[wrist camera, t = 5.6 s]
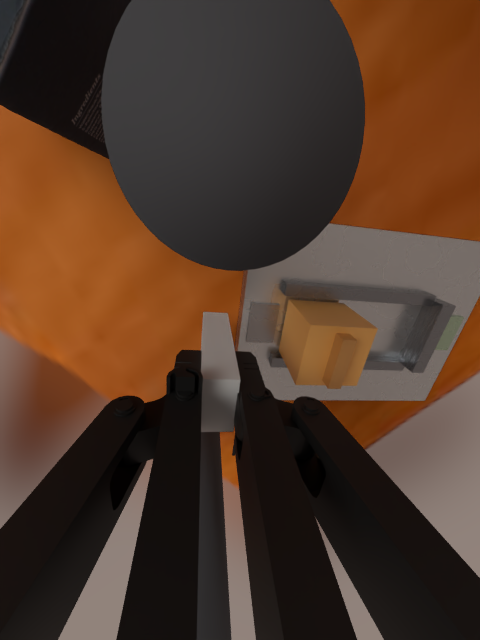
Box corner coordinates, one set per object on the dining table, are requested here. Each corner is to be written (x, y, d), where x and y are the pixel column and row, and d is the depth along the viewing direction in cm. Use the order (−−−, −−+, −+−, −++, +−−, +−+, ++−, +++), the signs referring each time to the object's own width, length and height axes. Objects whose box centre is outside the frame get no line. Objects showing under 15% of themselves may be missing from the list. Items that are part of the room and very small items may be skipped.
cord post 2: (187, 214, 16) (113, 260, 3) (188, 159, 15) (83, -102, 2) (234, 220, 16) (328, 279, 4) (240, 166, 15) (402, -10, 3)
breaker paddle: (278, 350, 19) (300, 394, 15) (288, 299, 17) (316, 331, 13) (328, 351, 19) (363, 394, 15) (343, 303, 18) (387, 335, 14)
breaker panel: (229, 387, 22) (233, 414, 19) (250, 213, 16) (260, 216, 14) (412, 389, 25) (439, 413, 22) (484, 241, 19) (532, 248, 16)
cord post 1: (182, 409, 22) (150, 676, 10) (182, 382, 21) (147, 646, 9) (216, 409, 23) (227, 664, 10) (218, 382, 22) (235, 633, 9)
